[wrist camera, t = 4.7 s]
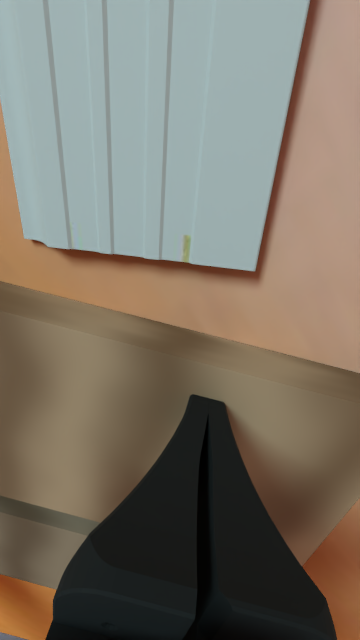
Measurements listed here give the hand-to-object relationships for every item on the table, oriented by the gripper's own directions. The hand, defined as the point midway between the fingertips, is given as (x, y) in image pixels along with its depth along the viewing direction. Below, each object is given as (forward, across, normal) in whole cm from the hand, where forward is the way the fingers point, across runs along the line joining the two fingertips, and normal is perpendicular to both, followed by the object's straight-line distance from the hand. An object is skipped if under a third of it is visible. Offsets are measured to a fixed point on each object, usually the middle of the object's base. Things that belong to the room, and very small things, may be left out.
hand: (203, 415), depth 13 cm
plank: (+2, +3, +4) cm, 5 cm away
